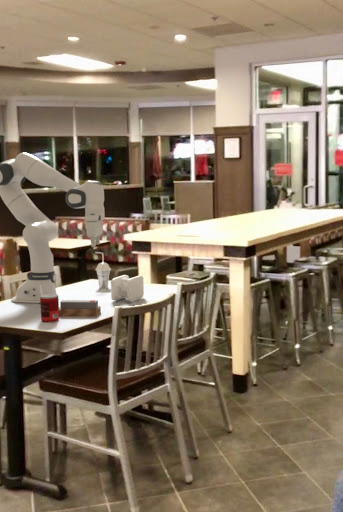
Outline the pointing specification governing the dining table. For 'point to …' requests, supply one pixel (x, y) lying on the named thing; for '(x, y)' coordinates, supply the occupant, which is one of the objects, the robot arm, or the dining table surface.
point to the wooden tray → (80, 312)
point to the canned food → (49, 307)
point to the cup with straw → (103, 272)
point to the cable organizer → (127, 288)
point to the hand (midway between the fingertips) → (95, 245)
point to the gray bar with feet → (79, 304)
